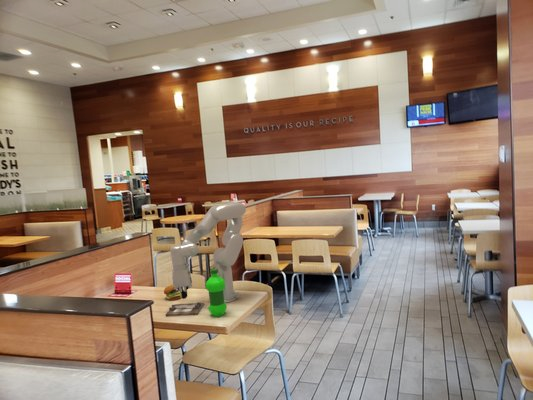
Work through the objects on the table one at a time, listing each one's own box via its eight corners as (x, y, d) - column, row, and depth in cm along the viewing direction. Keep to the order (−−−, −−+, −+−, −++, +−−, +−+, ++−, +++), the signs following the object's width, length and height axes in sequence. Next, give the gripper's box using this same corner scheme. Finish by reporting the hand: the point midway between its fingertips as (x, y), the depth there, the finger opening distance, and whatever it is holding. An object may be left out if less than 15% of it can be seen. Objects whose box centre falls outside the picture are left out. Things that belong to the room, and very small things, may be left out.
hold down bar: (198, 306, 223) (198, 305, 223) (197, 308, 221) (197, 306, 221) (173, 306, 224) (173, 305, 224) (171, 308, 222) (171, 307, 222)
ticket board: (204, 304, 230) (203, 299, 229) (197, 314, 214) (196, 308, 214) (174, 306, 231) (174, 300, 231) (165, 316, 215) (164, 310, 215)
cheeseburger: (179, 300, 241) (174, 285, 240) (164, 304, 243) (159, 290, 242) (185, 294, 251) (180, 280, 250) (171, 299, 253) (166, 284, 252)
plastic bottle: (207, 318, 207) (202, 272, 205) (211, 311, 217) (206, 267, 215) (226, 317, 206) (221, 271, 204) (228, 310, 217) (224, 266, 215)
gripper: (194, 263, 224) (199, 294, 226) (169, 266, 225) (174, 296, 227) (190, 267, 216) (195, 299, 218) (164, 270, 218) (170, 301, 220)
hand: (184, 297), depth 223 cm, fingers closed
